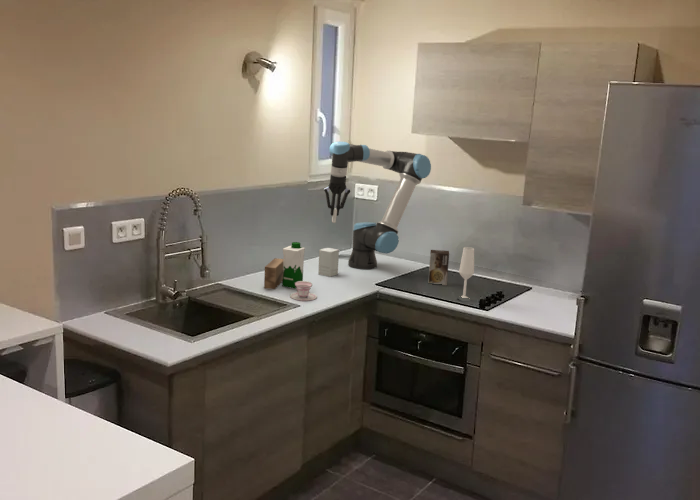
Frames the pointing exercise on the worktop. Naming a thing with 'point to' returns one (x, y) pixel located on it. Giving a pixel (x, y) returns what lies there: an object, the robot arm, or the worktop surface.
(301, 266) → the soya milk
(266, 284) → the board
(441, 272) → the coffee box
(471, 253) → the champagne flute
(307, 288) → the teacup
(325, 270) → the supplement box
